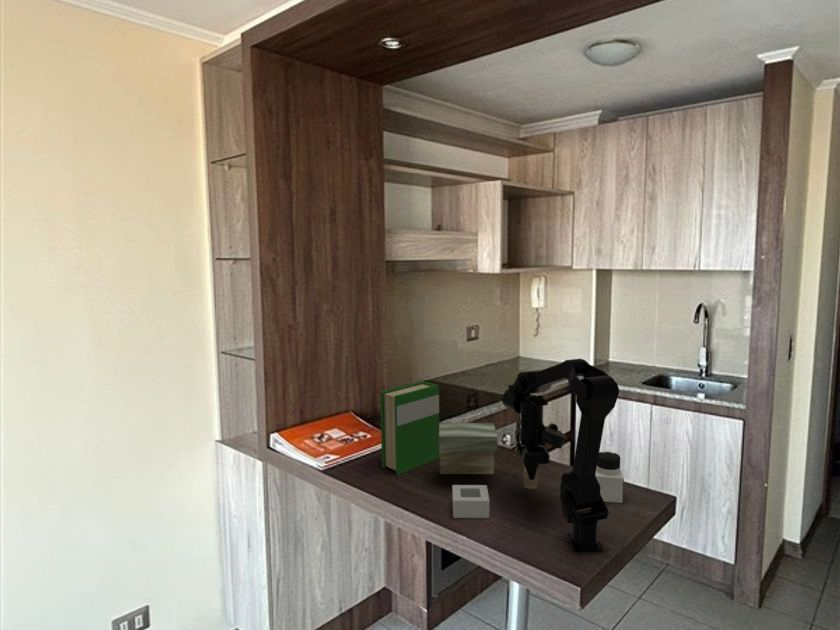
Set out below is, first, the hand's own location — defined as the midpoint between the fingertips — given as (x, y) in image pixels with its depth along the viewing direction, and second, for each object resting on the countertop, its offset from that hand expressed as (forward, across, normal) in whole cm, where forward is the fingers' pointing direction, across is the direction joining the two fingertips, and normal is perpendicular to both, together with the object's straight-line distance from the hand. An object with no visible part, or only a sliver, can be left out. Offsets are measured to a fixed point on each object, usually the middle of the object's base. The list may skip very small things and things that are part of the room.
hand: (530, 476), depth 144 cm
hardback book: (+7, +26, +33) cm, 43 cm away
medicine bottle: (+7, +4, -21) cm, 23 cm away
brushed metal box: (+7, +14, +16) cm, 22 cm away
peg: (+3, 0, 0) cm, 3 cm away
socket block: (+7, -4, +16) cm, 18 cm away
